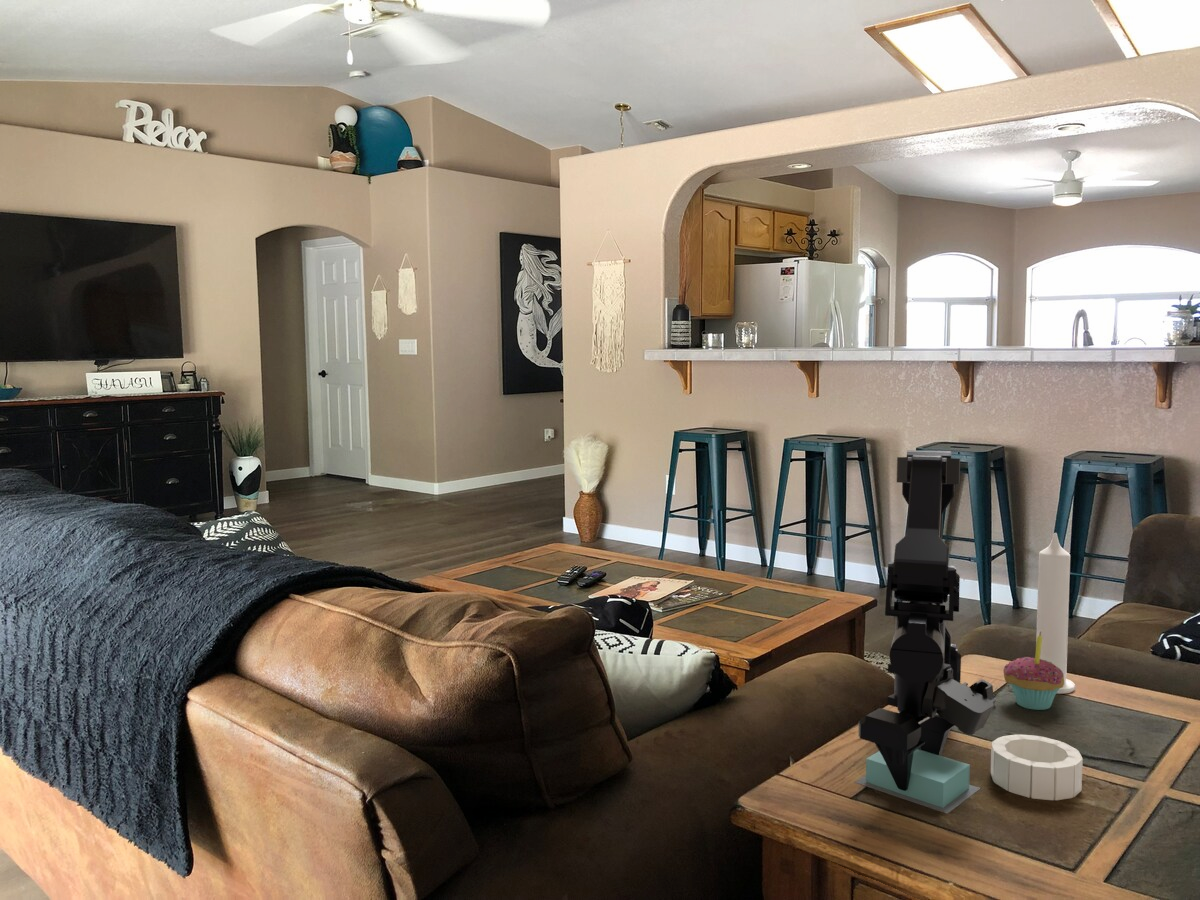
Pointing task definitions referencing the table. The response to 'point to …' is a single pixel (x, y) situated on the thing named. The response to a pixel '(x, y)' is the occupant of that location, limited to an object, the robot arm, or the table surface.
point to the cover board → (923, 777)
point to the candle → (1054, 607)
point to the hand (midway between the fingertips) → (917, 780)
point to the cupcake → (1034, 680)
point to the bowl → (1036, 767)
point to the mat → (945, 809)
